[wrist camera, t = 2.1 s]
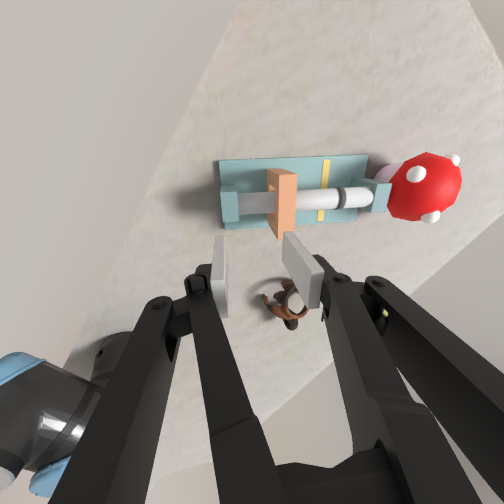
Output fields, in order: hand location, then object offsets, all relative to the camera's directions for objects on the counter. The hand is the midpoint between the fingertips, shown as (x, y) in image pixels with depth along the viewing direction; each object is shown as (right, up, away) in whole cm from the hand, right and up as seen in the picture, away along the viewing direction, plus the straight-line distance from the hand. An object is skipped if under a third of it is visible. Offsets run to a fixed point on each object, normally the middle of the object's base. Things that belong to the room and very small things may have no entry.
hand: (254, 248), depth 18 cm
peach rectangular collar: (+4, +10, +19) cm, 22 cm away
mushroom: (+26, +13, +23) cm, 37 cm away
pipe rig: (+7, +11, +21) cm, 25 cm away
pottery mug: (+7, -11, +32) cm, 34 cm away
